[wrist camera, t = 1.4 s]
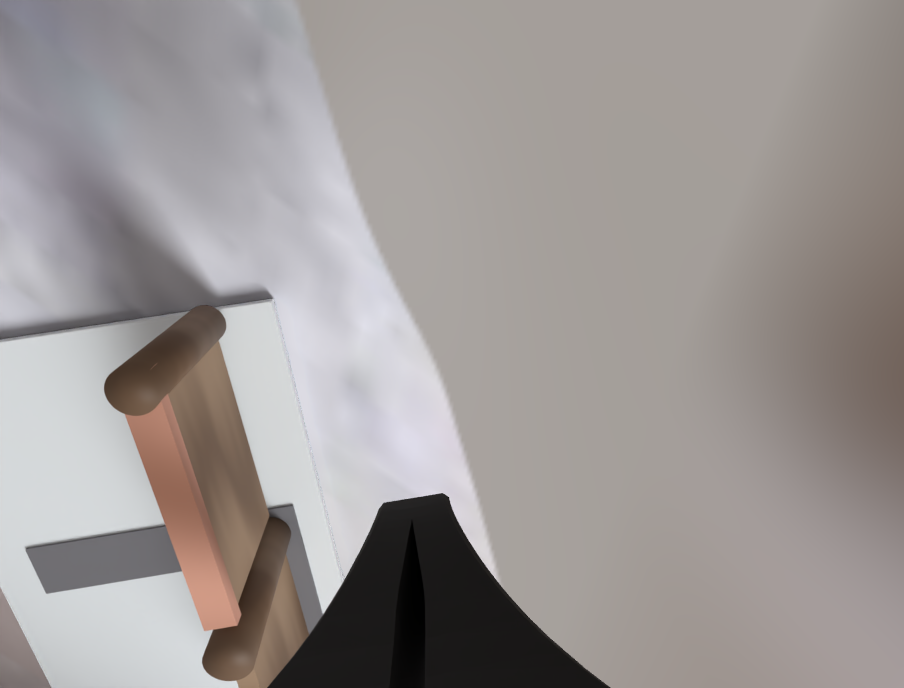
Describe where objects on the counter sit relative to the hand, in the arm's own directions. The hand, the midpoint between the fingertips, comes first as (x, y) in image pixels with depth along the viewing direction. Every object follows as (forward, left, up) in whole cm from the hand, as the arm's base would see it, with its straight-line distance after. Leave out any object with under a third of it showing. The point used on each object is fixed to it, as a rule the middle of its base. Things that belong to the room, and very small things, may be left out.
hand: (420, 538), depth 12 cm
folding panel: (0, +6, -8) cm, 10 cm away
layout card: (-5, +10, -9) cm, 14 cm away
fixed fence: (-9, +6, -8) cm, 14 cm away
